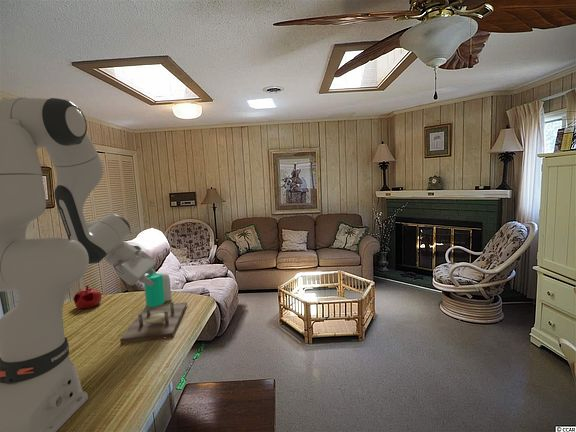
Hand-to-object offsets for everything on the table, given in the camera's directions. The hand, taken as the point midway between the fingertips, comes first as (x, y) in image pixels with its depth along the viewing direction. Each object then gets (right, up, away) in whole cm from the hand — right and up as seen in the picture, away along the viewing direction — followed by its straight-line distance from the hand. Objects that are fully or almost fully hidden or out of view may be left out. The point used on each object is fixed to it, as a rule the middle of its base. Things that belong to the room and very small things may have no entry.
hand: (155, 281), depth 108 cm
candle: (0, -8, +1) cm, 8 cm away
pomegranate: (-38, -15, +21) cm, 46 cm away
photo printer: (-8, -14, +21) cm, 27 cm away
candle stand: (0, -15, +1) cm, 15 cm away
